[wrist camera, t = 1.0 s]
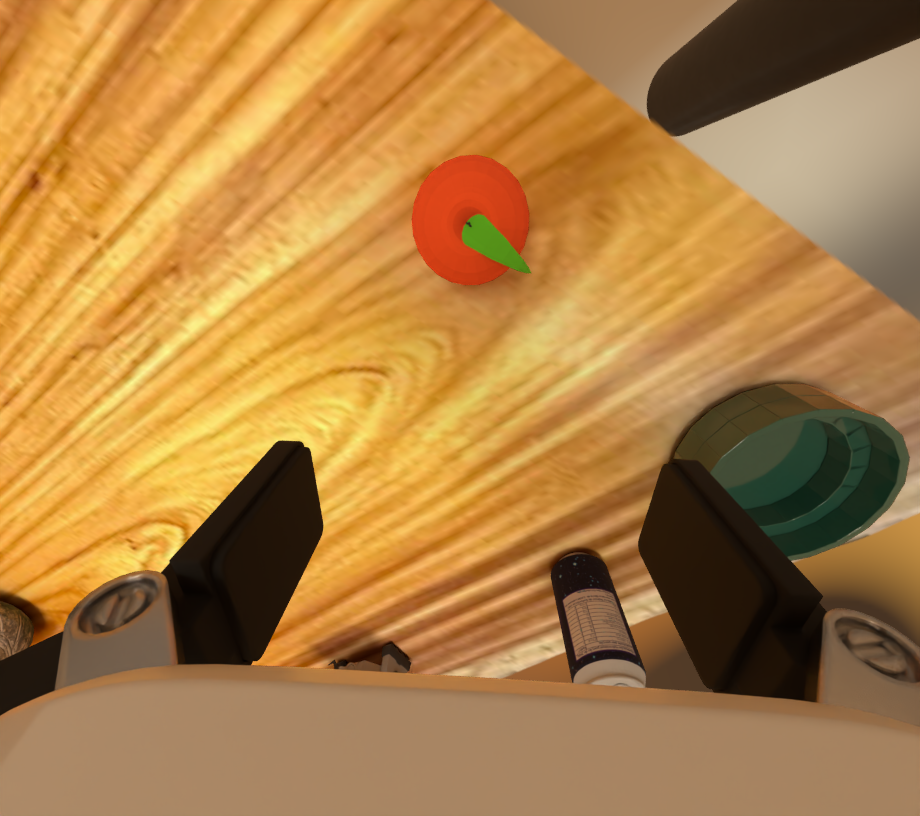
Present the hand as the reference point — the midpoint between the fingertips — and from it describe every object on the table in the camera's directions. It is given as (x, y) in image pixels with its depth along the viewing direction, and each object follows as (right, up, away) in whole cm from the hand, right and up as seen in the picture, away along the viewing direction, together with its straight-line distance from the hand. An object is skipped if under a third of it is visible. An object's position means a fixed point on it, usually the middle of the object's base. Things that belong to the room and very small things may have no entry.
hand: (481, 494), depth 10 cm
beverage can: (+12, -14, +29) cm, 35 cm away
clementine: (+1, +15, +16) cm, 21 cm away
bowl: (+25, -2, +22) cm, 34 cm away
